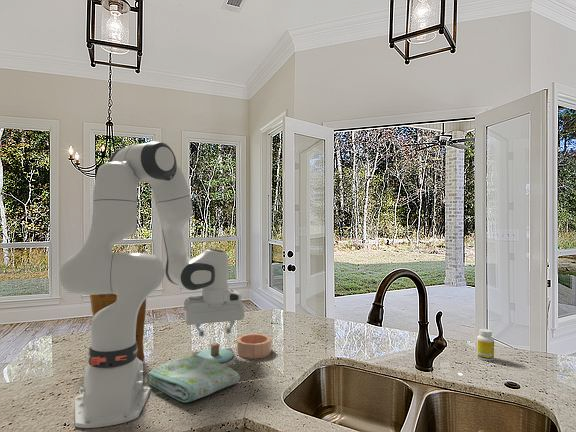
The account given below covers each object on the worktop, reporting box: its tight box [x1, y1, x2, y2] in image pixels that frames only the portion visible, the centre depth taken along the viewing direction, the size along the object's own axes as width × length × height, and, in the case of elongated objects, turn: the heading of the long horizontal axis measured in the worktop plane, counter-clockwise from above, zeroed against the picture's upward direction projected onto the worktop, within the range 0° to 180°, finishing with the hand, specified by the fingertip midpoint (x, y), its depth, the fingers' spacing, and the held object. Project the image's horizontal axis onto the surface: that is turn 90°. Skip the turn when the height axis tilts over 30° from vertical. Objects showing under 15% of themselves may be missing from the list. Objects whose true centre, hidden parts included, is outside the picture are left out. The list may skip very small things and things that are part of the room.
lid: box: [197, 342, 233, 364], centre depth 133 cm, size 12×12×4 cm
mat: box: [192, 348, 240, 365], centre depth 133 cm, size 14×14×1 cm
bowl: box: [235, 333, 272, 359], centre depth 139 cm, size 12×12×5 cm
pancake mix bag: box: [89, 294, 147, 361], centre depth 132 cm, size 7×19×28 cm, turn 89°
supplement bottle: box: [476, 328, 495, 362], centre depth 135 cm, size 5×5×10 cm
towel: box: [147, 354, 241, 403], centre depth 112 cm, size 18×21×5 cm
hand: (214, 334), depth 134 cm, fingers open, 8 cm apart
